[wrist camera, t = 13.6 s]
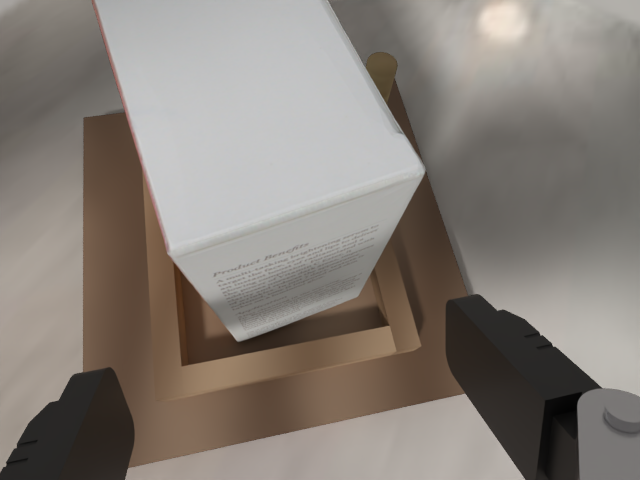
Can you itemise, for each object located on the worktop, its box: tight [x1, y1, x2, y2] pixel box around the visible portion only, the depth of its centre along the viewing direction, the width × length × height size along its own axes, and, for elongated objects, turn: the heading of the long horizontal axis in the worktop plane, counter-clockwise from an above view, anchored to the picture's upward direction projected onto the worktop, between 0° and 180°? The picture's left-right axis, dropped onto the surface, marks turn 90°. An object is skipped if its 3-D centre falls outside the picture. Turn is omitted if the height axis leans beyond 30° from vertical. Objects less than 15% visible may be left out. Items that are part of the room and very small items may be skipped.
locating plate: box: [83, 52, 468, 468], centre depth 18 cm, size 16×16×4 cm
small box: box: [92, 0, 426, 342], centre depth 14 cm, size 8×6×10 cm
